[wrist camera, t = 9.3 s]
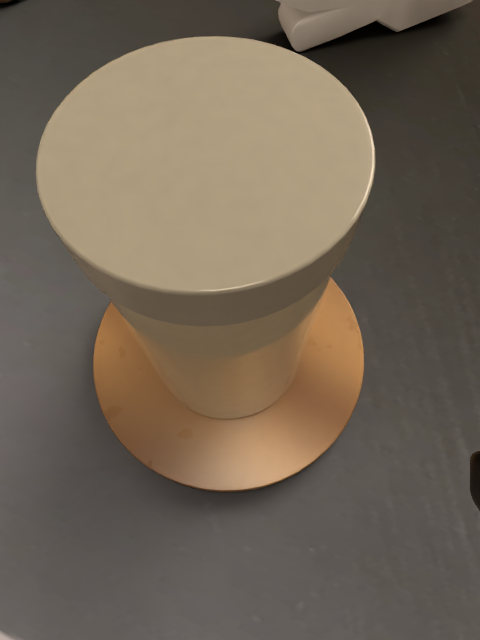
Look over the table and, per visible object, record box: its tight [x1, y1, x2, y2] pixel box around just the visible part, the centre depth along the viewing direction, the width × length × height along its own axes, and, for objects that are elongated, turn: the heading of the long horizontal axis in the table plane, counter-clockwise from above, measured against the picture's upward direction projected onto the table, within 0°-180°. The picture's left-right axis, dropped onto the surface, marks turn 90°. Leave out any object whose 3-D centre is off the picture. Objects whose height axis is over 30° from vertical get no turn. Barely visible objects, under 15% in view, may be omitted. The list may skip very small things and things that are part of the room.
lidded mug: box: [36, 36, 375, 419], centre depth 16 cm, size 10×7×12 cm
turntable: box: [93, 277, 364, 492], centre depth 21 cm, size 13×13×1 cm
